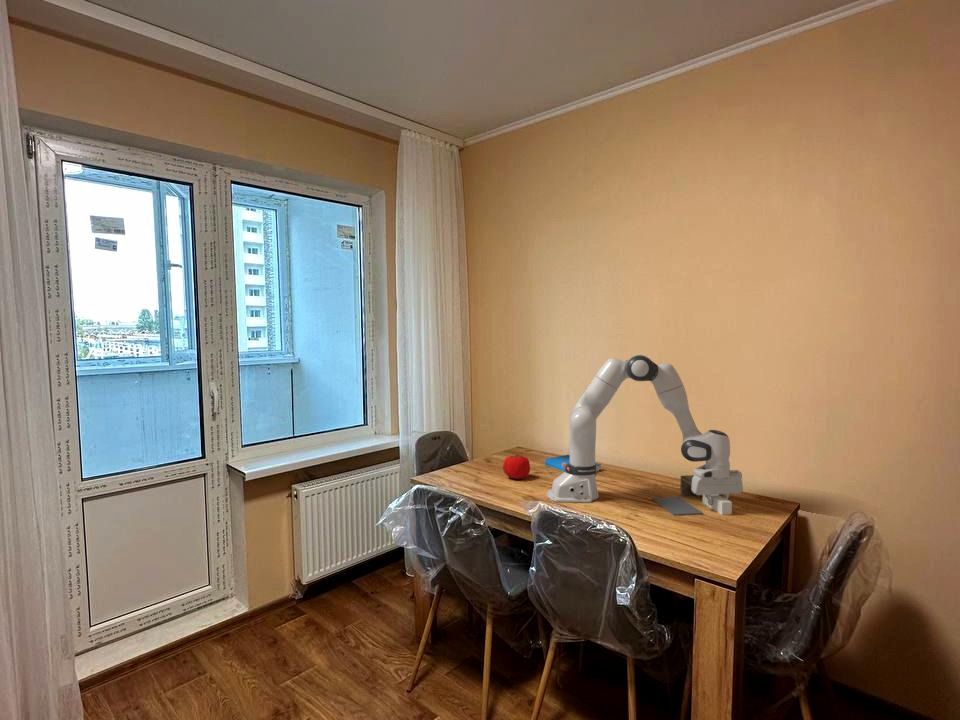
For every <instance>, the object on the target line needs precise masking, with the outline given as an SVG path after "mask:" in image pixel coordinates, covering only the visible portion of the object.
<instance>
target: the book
mask: <svg viewBox="0 0 960 720" xmlns="http://www.w3.org/2000/svg"><path fill="white" fill-rule="evenodd" d="M569 462H570V454H566V455H559V456H554V457H549V458H545V460H544V465H545V466H547V465H548V466H547V467H550V466H551V467H550V468H553V467H554V468H553V469H555V468H557V469H556V470H558V469H560V470H559V471H561V470H563V471H562V472H564V471H565V468H563V466H562V464H563V463H566V464H568V463H569ZM595 464H596V469H597V471H598V472H600V471H599V470H601V469H602V468H601V467H602V464H601V463H598V462H595Z"/></svg>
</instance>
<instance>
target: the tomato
mask: <svg viewBox="0 0 960 720" xmlns="http://www.w3.org/2000/svg"><path fill="white" fill-rule="evenodd" d="M502 470H503V472H504V474H505V475H506V476H507V477H508V478H511V479H514V480H521V479H525V478H526V477H528V476H529V474H530V472H531V464H530V461H529V459H528V458H527V457H526V456H524V455H521V454H515V455H510V456H506V458H505V459H504V461H503V463H502Z"/></svg>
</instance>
